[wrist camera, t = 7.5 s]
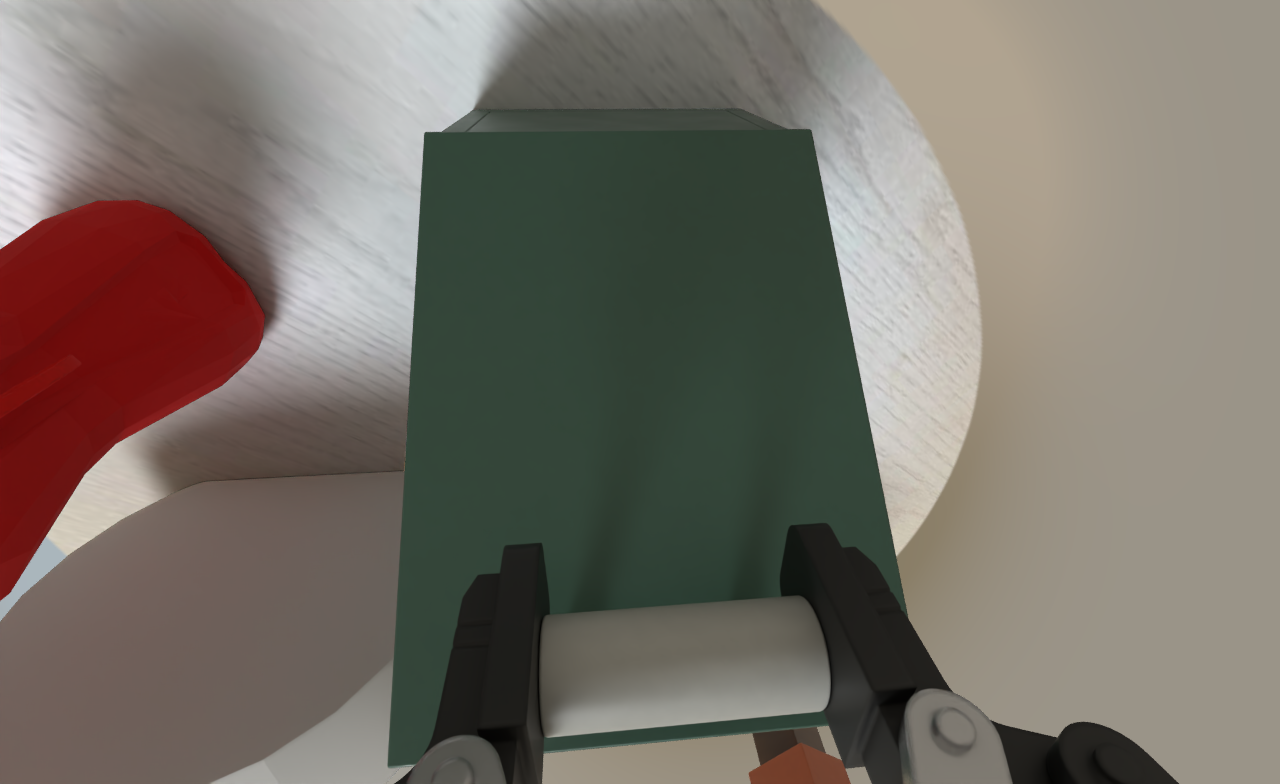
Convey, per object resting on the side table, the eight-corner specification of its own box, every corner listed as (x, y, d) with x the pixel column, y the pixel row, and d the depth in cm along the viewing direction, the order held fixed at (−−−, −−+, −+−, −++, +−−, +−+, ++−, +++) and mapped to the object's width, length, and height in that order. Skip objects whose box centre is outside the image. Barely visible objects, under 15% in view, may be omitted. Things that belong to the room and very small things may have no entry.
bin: (714, 398, 36) (750, 492, 29) (513, 408, 35) (496, 508, 28) (741, 108, 27) (803, 135, 20) (472, 109, 26) (430, 137, 19)
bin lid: (912, 709, 14) (1078, 783, 9) (398, 758, 13) (273, 872, 8) (803, 145, 20) (872, -2, 15) (430, 149, 19) (367, -8, 14)
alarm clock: (179, 565, 39) (-112, 951, 23) (128, 485, 35) (-269, 882, 19) (486, 545, 41) (425, 889, 25) (471, 467, 37) (385, 815, 21)
